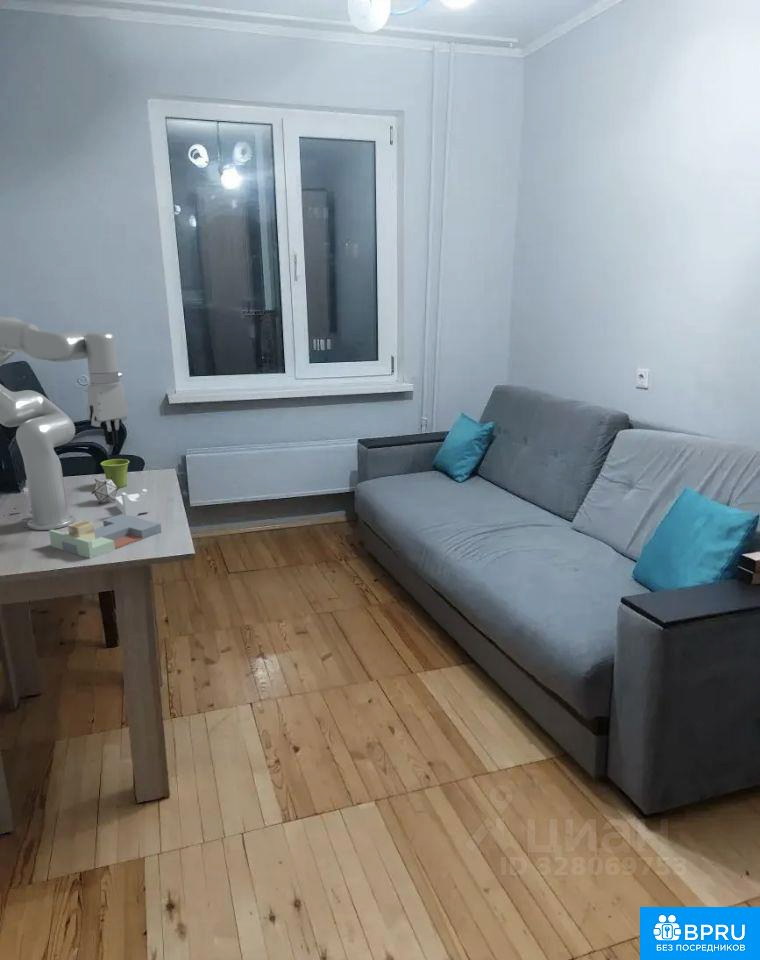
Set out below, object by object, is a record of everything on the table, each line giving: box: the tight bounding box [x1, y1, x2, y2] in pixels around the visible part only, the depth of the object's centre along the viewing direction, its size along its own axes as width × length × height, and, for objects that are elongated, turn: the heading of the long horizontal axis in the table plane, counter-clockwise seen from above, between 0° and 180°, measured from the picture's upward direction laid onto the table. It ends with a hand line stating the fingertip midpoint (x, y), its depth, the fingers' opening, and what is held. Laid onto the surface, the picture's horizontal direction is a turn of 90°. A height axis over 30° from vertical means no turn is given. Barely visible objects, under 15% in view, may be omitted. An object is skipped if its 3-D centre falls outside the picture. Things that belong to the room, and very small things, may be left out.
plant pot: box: [100, 458, 130, 488], centre depth 240 cm, size 9×9×9 cm
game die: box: [90, 477, 121, 505], centre depth 222 cm, size 9×8×10 cm
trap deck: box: [48, 513, 162, 559], centre depth 190 cm, size 17×23×4 cm
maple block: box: [67, 520, 95, 541], centre depth 182 cm, size 4×4×4 cm
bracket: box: [114, 488, 151, 517], centre depth 214 cm, size 13×7×8 cm, turn 34°
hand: (112, 444), depth 192 cm, fingers closed
